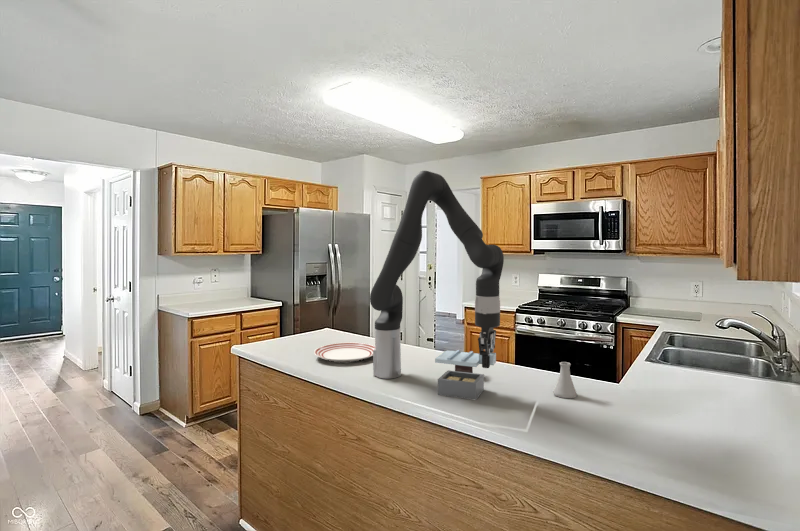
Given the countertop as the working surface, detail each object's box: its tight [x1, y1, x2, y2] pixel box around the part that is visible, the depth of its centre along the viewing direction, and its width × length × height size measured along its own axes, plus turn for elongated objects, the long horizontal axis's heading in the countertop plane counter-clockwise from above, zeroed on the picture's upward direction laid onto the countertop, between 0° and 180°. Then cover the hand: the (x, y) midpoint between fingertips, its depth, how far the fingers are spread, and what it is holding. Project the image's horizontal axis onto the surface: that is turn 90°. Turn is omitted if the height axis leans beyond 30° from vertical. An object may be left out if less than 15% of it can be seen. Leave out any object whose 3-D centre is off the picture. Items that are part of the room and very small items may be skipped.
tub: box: [437, 369, 485, 401], centre depth 136 cm, size 12×10×6 cm
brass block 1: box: [447, 376, 461, 381], centre depth 137 cm, size 4×4×4 cm
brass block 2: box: [462, 378, 476, 382], centre depth 135 cm, size 4×4×4 cm
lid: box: [434, 349, 497, 368], centre depth 135 cm, size 17×11×3 cm, turn 65°
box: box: [454, 365, 474, 373], centre depth 153 cm, size 6×6×7 cm
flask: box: [552, 361, 578, 399], centre depth 134 cm, size 7×7×10 cm
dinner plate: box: [313, 341, 375, 363], centre depth 184 cm, size 28×27×3 cm
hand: (487, 365), depth 133 cm, fingers closed on lid, 3 cm apart
